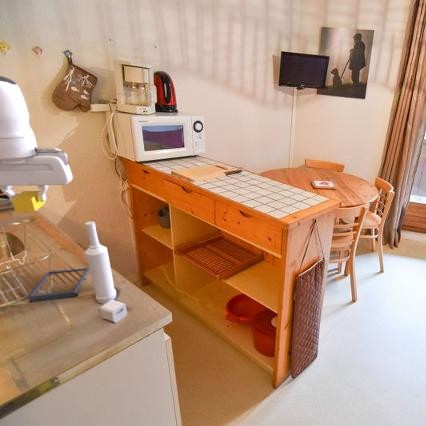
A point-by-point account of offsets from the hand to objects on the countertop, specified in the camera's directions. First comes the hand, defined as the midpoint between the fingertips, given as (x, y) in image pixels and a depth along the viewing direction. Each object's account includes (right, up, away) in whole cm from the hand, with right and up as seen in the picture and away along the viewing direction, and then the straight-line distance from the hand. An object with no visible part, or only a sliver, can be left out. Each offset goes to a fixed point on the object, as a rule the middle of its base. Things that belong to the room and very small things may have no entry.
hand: (29, 201), depth 81 cm
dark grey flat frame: (-5, -26, +17) cm, 31 cm away
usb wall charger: (+16, -32, +8) cm, 37 cm away
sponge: (0, -2, +1) cm, 2 cm away
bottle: (+11, -29, +14) cm, 34 cm away
